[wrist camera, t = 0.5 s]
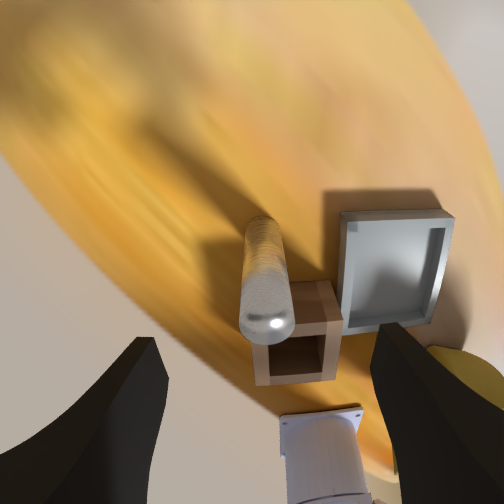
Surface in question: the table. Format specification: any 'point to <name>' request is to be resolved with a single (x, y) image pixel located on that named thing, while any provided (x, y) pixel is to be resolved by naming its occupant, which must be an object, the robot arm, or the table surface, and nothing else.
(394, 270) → the tray
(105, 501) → the robot arm
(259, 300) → the cylinder
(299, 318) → the walnut block
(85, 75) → the table surface
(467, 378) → the flower pot
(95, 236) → the table surface
